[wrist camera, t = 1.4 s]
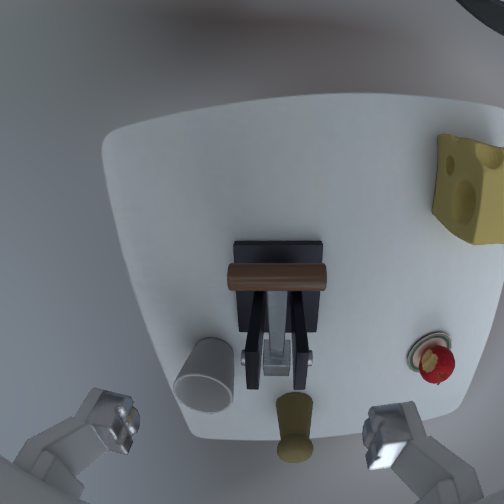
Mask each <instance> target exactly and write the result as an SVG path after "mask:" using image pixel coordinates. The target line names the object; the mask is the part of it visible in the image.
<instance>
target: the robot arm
mask: <svg viewBox="0 0 504 504" xmlns="http://www.w3.org/2000/svg"><path fill="white" fill-rule="evenodd" d="M500 1H503V2H504V0H500ZM133 403H134V401H133V399H132V397H131V396H127V395H123V394H118V393H114V392H110V391H107V390H102V389H98V388H93V389H92V390H91V391H90V392H89V394H88V395H87V397H86V399H85V400H84V402H83V403H82V405H81V407H80V408H79V410H78V412H77V413H76V415H75V416H74V417H69V418H68V419H66V420H64V421H62V422H60V423H59V424H56V425H55V426H53V427H51V428H49V429H47V430H45V431H43V432H42V433H39V434H38V435H36V436H34V437H32V438H30V439H28V440H27V441H26V442H25V444H24V446H23V447H22V449H21V450H20V452H19V454H18V456H17V457H16V459H15V461H14V462H13V463H11V462H10V461H8V460H7V459H5V458H4V457H2V456H1V455H0V504H89V503H87V502H85V501H82V500H80V496H81V494H82V492H83V489H84V485H83V484H82V483H81V482H80V481H79V480H78V479H77V478H76V477H75V476H76V475H78V474H79V473H80V472H82V471H83V470H84V469H86V468H87V467H88V466H90V465H91V464H92V463H94V462H95V461H96V460H97V459H99V458H100V457H101V456H103V455H104V454H105V453H106V452H108V450H109V451H113V452H116V453H120V454H124V455H128V453H129V451H130V448H131V446H132V443H133V440H132V437H131V436H133V435H134V434H136V433H137V432H138V429H139V426H140V415H139V412H138V410H137V409H136V408H135V407H133ZM368 415H369V418H368V419H367V420H365V422H364V425H363V432H362V436H363V444H364V446H366V447H367V448H368V451H367V453H366V461H367V467H368V470H374V469H382V468H389V467H391V469H392V470H393V471H394V472H395V473H396V474H397V475H398V476H399V478H400V479H401V480H402V481H403V482H404V483H405V484H406V485H407V486H408V487H409V488H410V489H411V490H412V491H413V492H414V493H415V494H416V495H417V496H418V497H419V499H420V500H418V501H417V502H416V503H415V504H504V488H503V489H501V490H499V491H497V492H495V493H493V494H491V495H489V496H486V497H484V496H483V492H482V489H481V486H480V483H479V480H478V477H477V475H476V472H475V469H474V468H473V467H472V466H470V465H469V464H468V463H466V462H465V461H464V460H462V459H461V458H459V457H458V456H457V455H455V454H454V453H453V452H451V451H450V450H448V449H447V448H446V447H445V446H443V445H442V444H440V443H439V442H438V441H437V440H435V439H434V438H432V437H431V436H429V437H427V435H426V432H425V430H424V426H423V424H422V421H421V418H420V416H419V413H418V410H417V408H416V405H415V403H414V402H413V401H409V402H403V403H394V404H387V405H380V406H372V407H371V408H370V410H369V412H368Z"/></svg>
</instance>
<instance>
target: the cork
mask: <svg viewBox="0 0 504 504" xmlns="http://www.w3.org/2000/svg"><path fill="white" fill-rule="evenodd" d="M312 406H313V401H312V399H311V397H310V396H308V395H306V394H304V393H300V392H293V393H287V394H285V395H282V396H281V397H280V398H279V399H278V400H277V401H276V408H277V415H278V422H279V429H280V436H281V441H280V442H279V443H278V447H277V453H278V456H279V457H280V458H281V460H283V461H285V462H289V463H298V462H302V461H305V460H307V459H309V458H310V456H311V455H312V452H313V444H312V442H311V440H310V439H309V435H310V426H311V416H312Z"/></svg>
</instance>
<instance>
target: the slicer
mask: <svg viewBox="0 0 504 504" xmlns="http://www.w3.org/2000/svg"><path fill="white" fill-rule="evenodd" d="M233 247H234V263H322V253H323V244H322V241H235V242H234V245H233ZM236 295H237V310H238V324H239V332H248V333H247V339H246V346H245V350H242V353H241V364H242V365H243V366H245V368H246V383H247V389H257V390H258V389H259V379H260V368H261V357H262V345H263V334H264V332H269V325H268V305H267V291H236ZM319 297H320V291H287V311H286V328H285V333H292V356H293V387H294V390H304V389H305V386H306V377H307V368H308V366H312V358H313V356H312V350H309V347H308V338H307V332H316V331H317V320H318V309H319Z"/></svg>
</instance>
